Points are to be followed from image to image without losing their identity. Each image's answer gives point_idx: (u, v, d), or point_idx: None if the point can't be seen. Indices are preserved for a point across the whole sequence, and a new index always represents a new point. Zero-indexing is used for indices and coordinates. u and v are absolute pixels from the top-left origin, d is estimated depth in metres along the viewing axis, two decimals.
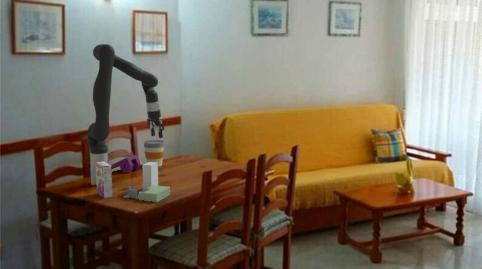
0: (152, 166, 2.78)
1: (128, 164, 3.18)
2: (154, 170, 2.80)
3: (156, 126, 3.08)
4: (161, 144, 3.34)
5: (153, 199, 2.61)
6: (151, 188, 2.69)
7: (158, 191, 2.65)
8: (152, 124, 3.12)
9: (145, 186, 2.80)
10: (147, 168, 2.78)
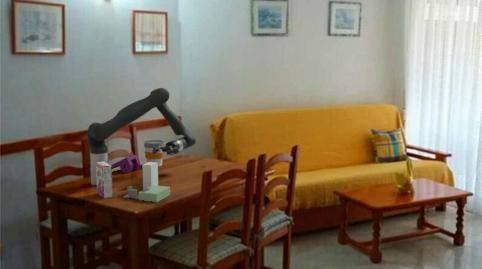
0: (152, 166, 2.78)
1: (128, 164, 3.18)
2: (154, 170, 2.80)
3: (172, 147, 2.95)
4: (161, 144, 3.34)
5: (153, 199, 2.61)
6: (151, 188, 2.69)
7: (158, 191, 2.65)
8: (164, 147, 2.98)
9: (145, 186, 2.80)
10: (147, 168, 2.78)
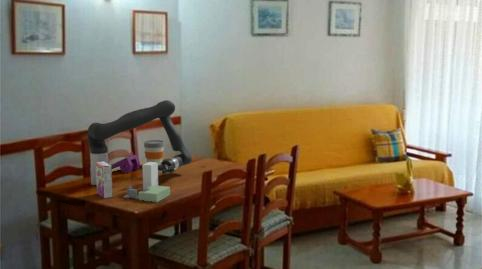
0: (152, 166, 2.78)
1: (128, 164, 3.18)
2: (154, 170, 2.80)
3: (167, 166, 2.92)
4: (161, 144, 3.34)
5: (153, 199, 2.61)
6: (151, 188, 2.69)
7: (158, 191, 2.65)
8: (159, 166, 2.94)
9: (145, 186, 2.80)
10: (147, 168, 2.78)
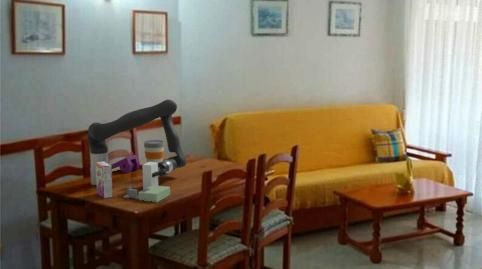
0: (152, 166, 2.78)
1: (127, 164, 3.18)
2: (154, 170, 2.80)
3: (159, 169, 2.85)
4: (161, 144, 3.34)
5: (153, 199, 2.61)
6: (151, 188, 2.69)
7: (158, 191, 2.65)
8: None
9: (145, 186, 2.80)
10: (147, 168, 2.78)
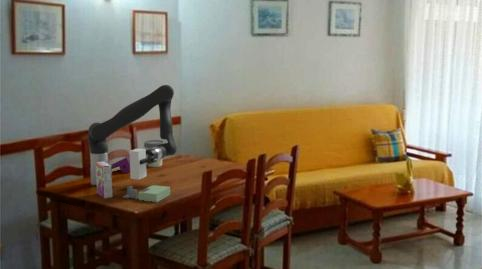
0: (140, 153, 2.65)
1: (128, 164, 3.18)
2: (142, 157, 2.68)
3: (147, 156, 2.72)
4: None
5: (153, 199, 2.61)
6: (151, 188, 2.69)
7: (158, 191, 2.65)
8: None
9: (133, 174, 2.67)
10: (134, 154, 2.65)
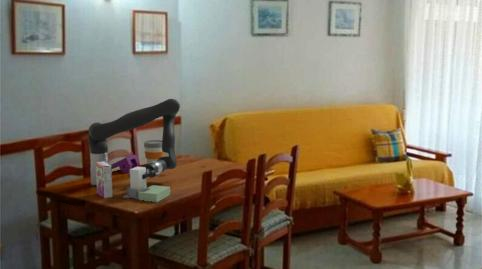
0: (140, 171, 2.67)
1: (127, 164, 3.18)
2: None
3: (149, 170, 2.73)
4: (161, 144, 3.34)
5: (153, 199, 2.61)
6: (151, 188, 2.69)
7: (158, 191, 2.65)
8: None
9: None
10: (134, 173, 2.67)
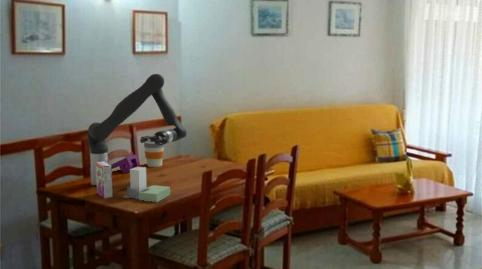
0: (140, 171, 2.67)
1: (128, 164, 3.18)
2: (142, 175, 2.69)
3: (161, 137, 2.83)
4: None
5: (153, 199, 2.61)
6: (151, 188, 2.69)
7: (158, 191, 2.65)
8: (153, 137, 2.85)
9: None
10: (135, 173, 2.67)
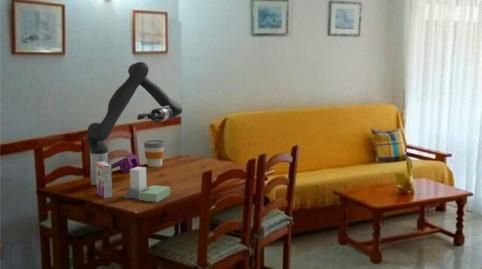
0: (140, 171, 2.67)
1: (128, 164, 3.19)
2: (142, 175, 2.69)
3: (157, 114, 2.93)
4: (161, 144, 3.34)
5: (153, 199, 2.61)
6: (151, 188, 2.69)
7: (158, 191, 2.65)
8: (149, 114, 2.96)
9: None
10: (135, 173, 2.67)
